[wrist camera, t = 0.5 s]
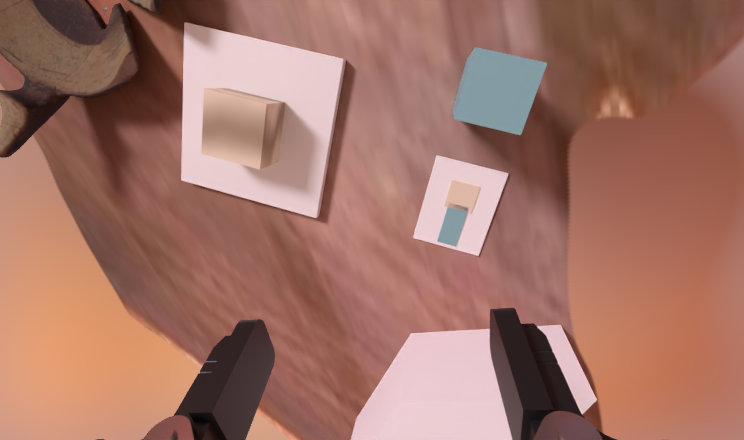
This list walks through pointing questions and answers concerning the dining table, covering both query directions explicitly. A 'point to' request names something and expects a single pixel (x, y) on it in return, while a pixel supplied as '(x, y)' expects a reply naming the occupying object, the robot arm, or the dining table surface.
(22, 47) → the oil lamp
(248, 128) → the lower block
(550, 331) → the wide white block
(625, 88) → the dining table surface
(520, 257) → the dining table surface
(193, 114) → the build board
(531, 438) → the robot arm
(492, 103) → the tall block
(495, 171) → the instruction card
